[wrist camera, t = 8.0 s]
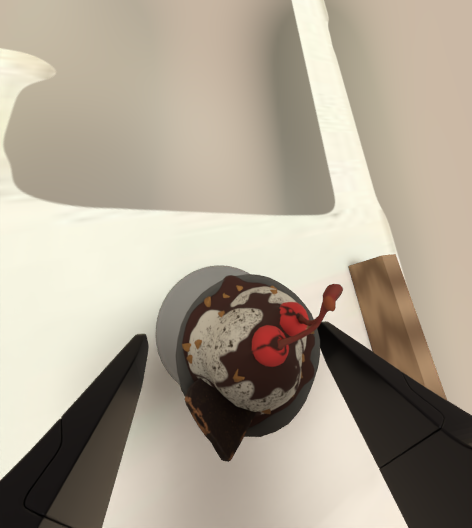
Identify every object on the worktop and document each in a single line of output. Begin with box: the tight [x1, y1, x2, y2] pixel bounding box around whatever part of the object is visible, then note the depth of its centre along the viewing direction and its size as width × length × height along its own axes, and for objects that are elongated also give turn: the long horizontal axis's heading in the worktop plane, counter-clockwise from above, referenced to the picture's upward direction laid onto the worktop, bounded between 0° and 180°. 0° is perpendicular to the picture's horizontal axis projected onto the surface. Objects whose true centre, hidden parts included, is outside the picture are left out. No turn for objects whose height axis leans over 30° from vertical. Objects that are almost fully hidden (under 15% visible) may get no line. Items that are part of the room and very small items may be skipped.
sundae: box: [176, 274, 343, 461], centre depth 11 cm, size 7×7×15 cm
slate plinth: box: [156, 266, 249, 384], centre depth 19 cm, size 12×12×3 cm
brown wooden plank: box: [349, 254, 447, 400], centre depth 22 cm, size 18×2×5 cm, turn 8°
